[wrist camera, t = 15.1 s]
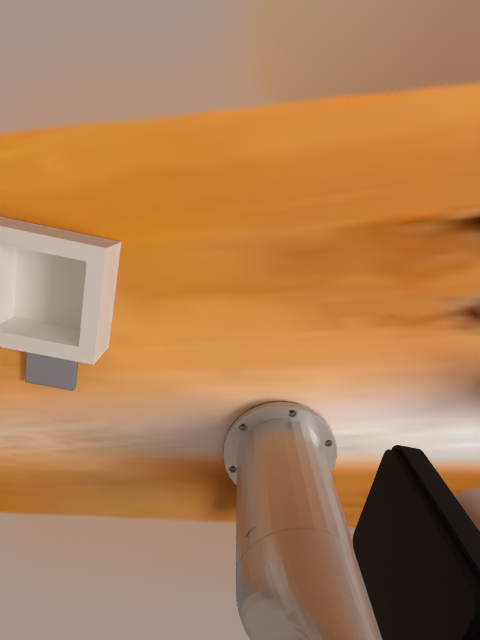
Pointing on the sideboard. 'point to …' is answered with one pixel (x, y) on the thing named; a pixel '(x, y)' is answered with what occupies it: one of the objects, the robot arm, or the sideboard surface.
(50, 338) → the socket block
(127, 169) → the sideboard surface
